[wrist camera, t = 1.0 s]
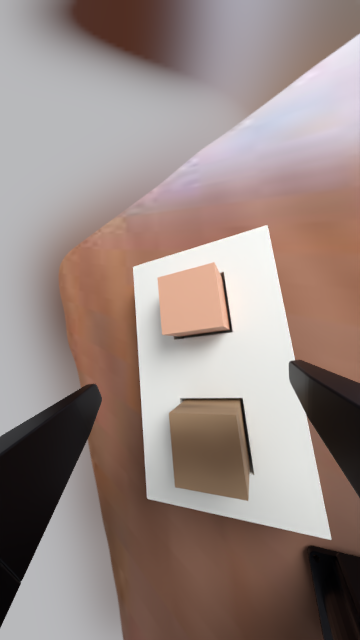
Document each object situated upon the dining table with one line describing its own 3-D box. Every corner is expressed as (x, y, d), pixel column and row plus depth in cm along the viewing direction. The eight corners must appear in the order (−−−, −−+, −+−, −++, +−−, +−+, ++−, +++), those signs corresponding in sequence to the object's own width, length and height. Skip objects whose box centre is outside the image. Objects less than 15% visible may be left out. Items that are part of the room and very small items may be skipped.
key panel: (313, 493, 16) (331, 539, 12) (166, 471, 21) (147, 498, 17) (264, 247, 20) (267, 225, 16) (151, 278, 24) (133, 266, 21)
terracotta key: (230, 330, 17) (223, 326, 13) (180, 336, 19) (162, 334, 15) (222, 279, 18) (214, 262, 14) (175, 290, 20) (157, 277, 16)
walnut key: (249, 462, 15) (248, 501, 11) (192, 456, 17) (174, 487, 13) (240, 398, 16) (236, 414, 12) (186, 398, 18) (168, 413, 14)
